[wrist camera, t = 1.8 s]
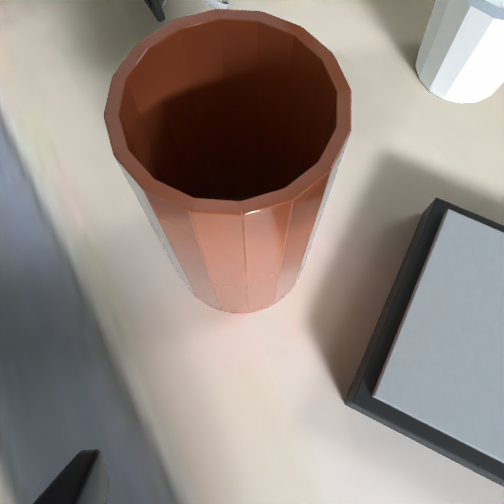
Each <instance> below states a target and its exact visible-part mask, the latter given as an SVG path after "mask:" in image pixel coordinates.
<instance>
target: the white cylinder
mask: <svg viewBox="0 0 504 504" xmlns="http://www.w3.org/2000/svg"><path fill="white" fill-rule="evenodd" d="M415 66H416V70H417V73H418V77H419V79H420V81H421V82H422V83H423V84H424V86H425V87H426V88H427V89H428V90H429V91H430V92H432V93H433V94H435V95H437V96H438V97H440V98H442V99H443V100H447V101H451V102H456V103H460V104H462V103H474V102H478V101H480V100H482V99H485V98H487V97H489V96H491V94H492V93H493V92H494V91H495V90H496V89H497V88H498V87H499V86H500V85H501V84H502V83H503V82H504V0H436V1H435V4H434V7H433V10H432V13H431V16H430V19H429V22H428V25H427V28H426V31H425V34H424V37H423V40H422V43H421V46H420V49H419V52H418V56H417V60H416V65H415Z"/></svg>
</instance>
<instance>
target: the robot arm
mask: <svg viewBox="0 0 504 504" xmlns="http://www.w3.org/2000/svg"><path fill="white" fill-rule="evenodd" d="M108 485H109V478H108V473H107V469H106V465H105V461H104V457H103V454H102V452H101V451H100V450H98V449H95V450H83V451H80V452H79V453H78V454H77V455H76V456H75V457H74V458H73V459H72V460H71V462H70V463H69V464H68V465H67V466H66V467H65V468H64V469H63V470H62V472H61V473H60V474H59V475H58V476H57V477H56V478H55V479H54V480H53V482H52V483H51V484H50V485H49V486H48V487H47V488H46V489H45V491H44V492H43V493H42V494H41V495H40V496H39V497H38V498H37V499H36V501H35V502H34V503H33V504H106V498H107V492H108Z"/></svg>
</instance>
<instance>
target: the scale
mask: <svg viewBox="0 0 504 504" xmlns="http://www.w3.org/2000/svg"><path fill="white" fill-rule="evenodd" d="M344 404H345V405H347V406H349V407H351V408H353V409H355V410H357V411H359V412H361V413H363V414H364V415H366V416H368V417H370V418H372V419H374V420H376V421H378V422H380V423H382V424H384V425H386V426H388V427H390V428H391V429H393V430H395V431H397V432H399V433H401V434H403V435H405V436H407V437H409V438H411V439H413V440H415V441H417V442H419V443H420V444H422V445H424V446H426V447H428V448H430V449H432V450H434V451H436V452H438V453H440V454H442V455H444V456H446V457H447V458H449V459H451V460H453V461H455V462H457V463H459V464H461V465H463V466H465V467H467V468H469V469H471V470H473V471H474V472H476V473H478V474H480V475H482V476H484V477H486V478H488V479H490V480H492V481H494V482H496V483H498V484H500V485H501V486H503V487H504V226H503V225H500V224H498V223H496V222H493V221H491V220H488V219H486V218H484V217H481V216H479V215H477V214H474V213H472V212H470V211H467V210H465V209H463V208H460V207H458V206H456V205H453V204H451V203H449V202H446V201H444V200H442V199H439V198H435V200H434V201H433V202H432V203H431V204H430V205H429V207H428V208H427V209H426V210H425V211H424V212H423V215H422V217H421V219H420V222H419V224H418V227H417V229H416V231H415V234H414V236H413V239H412V241H411V244H410V246H409V248H408V251H407V253H406V256H405V258H404V260H403V263H402V265H401V268H400V270H399V272H398V275H397V277H396V280H395V282H394V284H393V287H392V289H391V292H390V294H389V296H388V299H387V301H386V304H385V306H384V308H383V311H382V313H381V316H380V318H379V320H378V323H377V325H376V328H375V330H374V332H373V335H372V337H371V340H370V342H369V344H368V347H367V349H366V352H365V354H364V356H363V359H362V361H361V364H360V366H359V368H358V371H357V373H356V376H355V378H354V380H353V383H352V385H351V388H350V390H349V393H348V395H347V397H346V400H345V402H344Z"/></svg>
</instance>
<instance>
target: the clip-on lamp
mask: <svg viewBox="0 0 504 504" xmlns="http://www.w3.org/2000/svg"><path fill="white" fill-rule="evenodd" d="M144 1H145V2H146V4H147V5H148V7H149V8H150V10H151V11H152V13H153V14H154V16H155V17H156V19H157V20H158V22H162V21H164V20H165V15H164V12H163V7H164V5H165V3H166V0H144ZM201 1H202V2H204V3H206V4H208V5H210V6H212V7H214V8H217V9H227V8H228V7H229V5H230V2H229V0H222V1H223V3H224V4H223V3H221V2H219V1H216V0H201Z"/></svg>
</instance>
